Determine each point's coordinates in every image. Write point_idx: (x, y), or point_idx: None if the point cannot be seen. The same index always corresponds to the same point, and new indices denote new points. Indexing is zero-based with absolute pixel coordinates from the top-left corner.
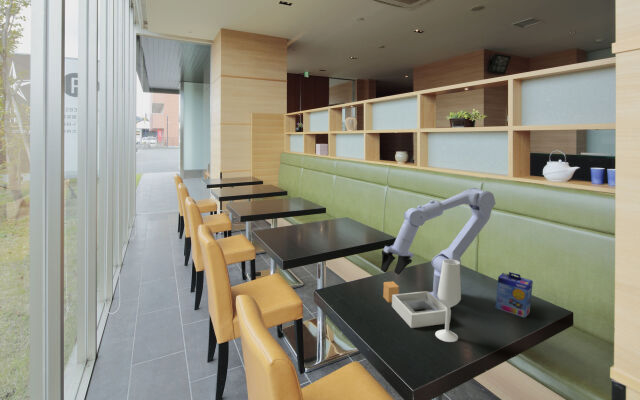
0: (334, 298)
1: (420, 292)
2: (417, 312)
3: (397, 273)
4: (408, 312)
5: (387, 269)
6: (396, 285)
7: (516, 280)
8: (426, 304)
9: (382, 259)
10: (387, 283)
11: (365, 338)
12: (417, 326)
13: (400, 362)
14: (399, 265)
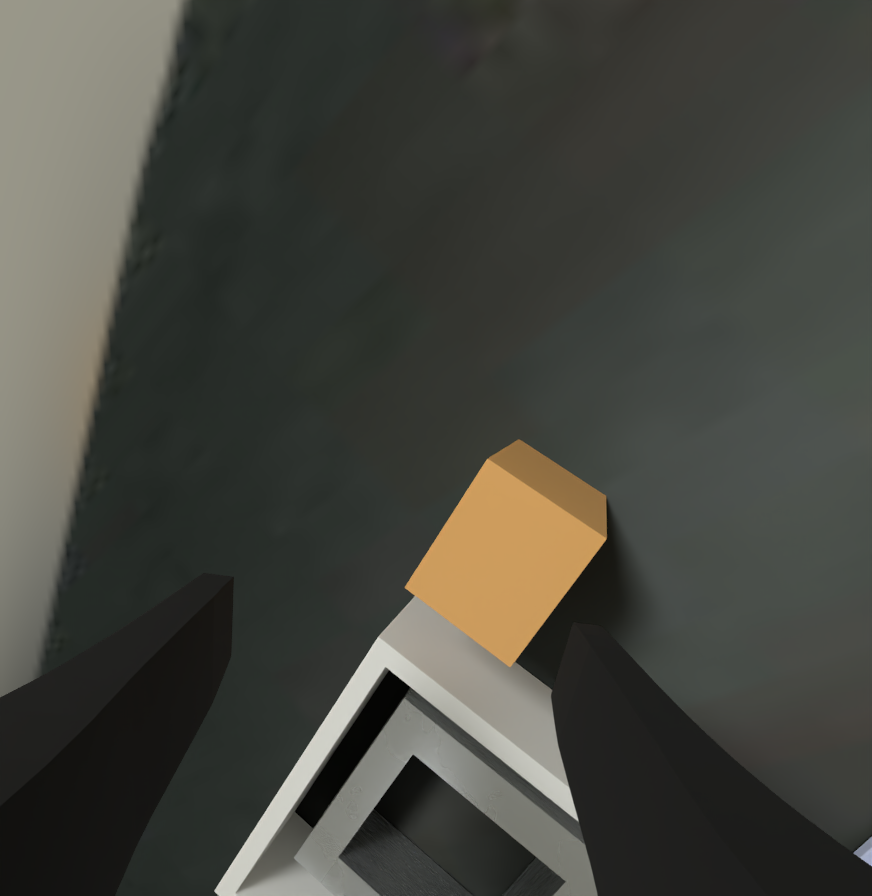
0: (209, 161)
1: None
2: (341, 874)
3: (555, 693)
4: (240, 852)
5: (199, 721)
6: (519, 628)
7: None
8: (546, 889)
9: (7, 703)
10: (491, 514)
11: (51, 643)
12: None
13: None
14: (622, 805)
